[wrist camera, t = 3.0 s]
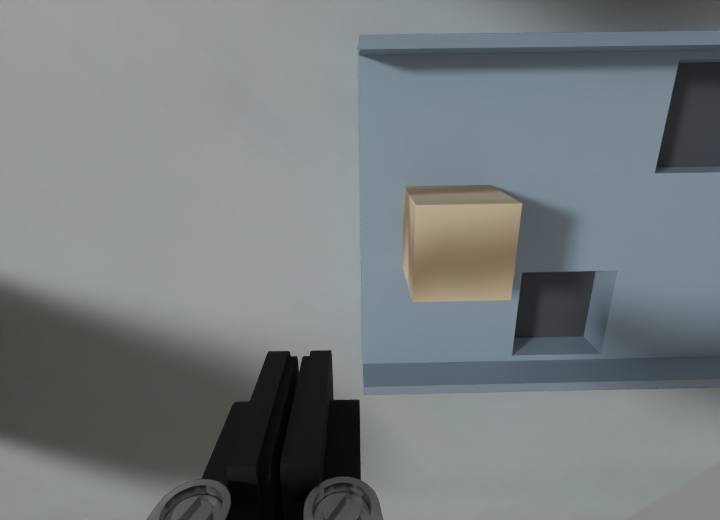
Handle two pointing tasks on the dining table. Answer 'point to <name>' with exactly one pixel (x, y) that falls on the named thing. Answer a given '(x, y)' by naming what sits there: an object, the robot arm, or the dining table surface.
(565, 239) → the trap board
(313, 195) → the dining table surface
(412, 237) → the oak block
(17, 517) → the dining table surface
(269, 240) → the dining table surface
